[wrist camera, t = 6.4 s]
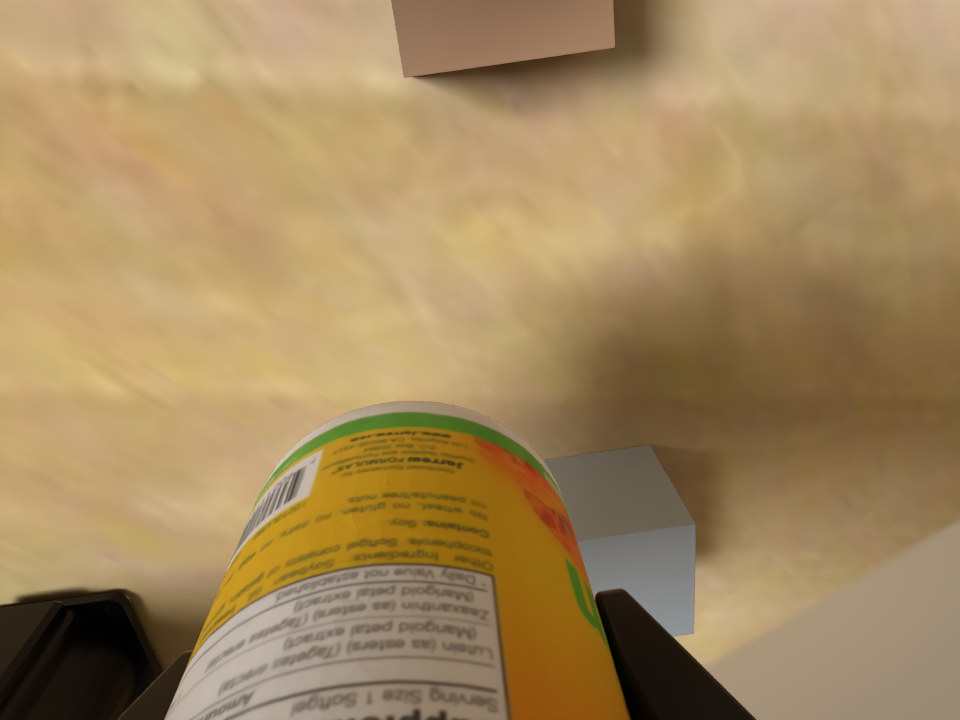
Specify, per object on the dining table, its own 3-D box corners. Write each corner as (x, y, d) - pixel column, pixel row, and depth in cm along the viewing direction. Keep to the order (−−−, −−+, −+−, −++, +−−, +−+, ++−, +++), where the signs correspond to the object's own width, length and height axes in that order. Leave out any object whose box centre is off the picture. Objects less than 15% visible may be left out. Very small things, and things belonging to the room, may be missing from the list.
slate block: (650, 541, 25) (693, 633, 21) (537, 557, 25) (557, 653, 21) (649, 443, 23) (695, 524, 19) (525, 461, 23) (545, 546, 19)
